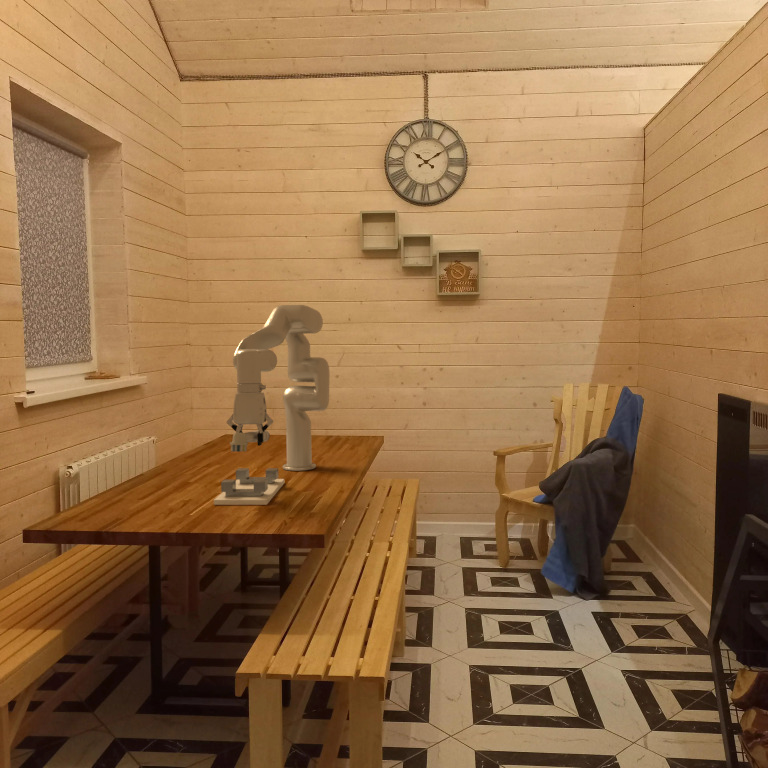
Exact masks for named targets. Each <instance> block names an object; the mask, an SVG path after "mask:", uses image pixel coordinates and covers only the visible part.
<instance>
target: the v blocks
mask: <svg viewBox="0 0 768 768" xmlns="http://www.w3.org/2000/svg"><path fill="white" fill-rule="evenodd" d="M276 479H279V467H278V468H277V467H276V468H271V467H268V468H267V469H265V476H250V468H247V467H246V468H245V467H243V468H242V467H241V468H240V467H239V468H238V469H236V470H235V479H224V480H222V481H221V482H220V487H221V493H222V492H225V493H226V497H261V496H262V495H263V494H264V492H265V491H266V490H267V489H268V484H273V483H274V482H275V480H276ZM236 480H240V484H254V489H236Z"/></svg>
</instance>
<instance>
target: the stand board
mask: <svg viewBox="0 0 768 768" xmlns="http://www.w3.org/2000/svg"><path fill="white" fill-rule="evenodd" d="M235 480H236V479H235ZM283 485H285V478H277V479H276V480H275V482H274V483H273V484H268V489H267V490H266V491H265V492H264V494H263V495H262V496H261V497H226V493H225V492H221V493H220V494H219V495H218V496H216V497H215V498H214V499H213V505H214V506H218V505H220V506H221V505H222V506H225V505H226V506H229V505H230V506H231V505H232V506H235V505H237V506H244V505H245V506H248V505H249V506H250V505H251V506H255V505H257V506H258V505H259V506H262V505H263V506H264V505H265V506H267V505H268V504H269V503H270V501H271V500H272V499H273V498H274V497H275V495H277V493H278V492H279V491H280V489H281V488H283ZM236 489H254V484H240V480H236Z"/></svg>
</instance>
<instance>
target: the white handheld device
mask: <svg viewBox="0 0 768 768" xmlns="http://www.w3.org/2000/svg"><path fill="white" fill-rule="evenodd" d="M258 431H259V430H258V429H257V430H254V431H247V432H243V433H236V432H233V435H232V442H231V441H230V442H229V445H230V452H247V451H248V450H247V449H248V446H249V443H258V439H257V434H258ZM270 438H271V437H270V432H269V431H268V430H265V431H264V432H263V443H264V442H268V440H269V439H270Z"/></svg>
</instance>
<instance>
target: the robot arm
mask: <svg viewBox="0 0 768 768" xmlns="http://www.w3.org/2000/svg"><path fill="white" fill-rule="evenodd" d="M323 322H324V321H323V317H322V314H321V313H320V312H319V311H318V310H317V309H315V308H313V307H310V306H308V305H304V304H282V305H278V306H276V307H274V308H273V310H272V311H271V313H270V314H269V316H268V318H267V320H266V322H265V323H264V325H263V326H262V328H260V329H258V330H256V331H254V332H252V333H251V334H249V335H247V336H246V337H244V338H242V340H241V341H240V342H239V344H238V346H237V347H236V348H235V351H234V353H233V356H232V364H233V367H234V369H235V370H236V381H237V383H236V384H237V385H236V387H237V388H236V389H237V392H235V395H234V400H233V413H232V415H231V416H230V417H229V418H228V419H227V420H226V424H227V425H228V426H229V427H231V428H232V429H233V431H235V433H244V432H243V428H244V425H256V427H257V430H259V431H258V434H257V439H258V442H257V446H258V447H259V446H260V447H261V446H262V444H263V443H264V442H263V432H264V431H267V429H268V428H269V427H270V426H271V425H272V424H274V420H273V419H272V418H271V416H270V415H269V414H268V413H267V404H266V403H267V401H266V395H265V393H264V392H262V391H263V390H267V387H266V386H267V385H266V384H262V373H268V372H271V371H274V370H275V368H276V367H277V364H278V357H277V354H276V353H275V351H273V350H271V349H272V348H275V347H278V346H280V345H282V344H283V343H284V341H285V342H286V345H287V376H288V377H287V378H288V379H289V380H290V381H291V382H294V383H314V385H291V386H288V387H286V389H285V390H284V391H283V395H282V400H283V407H284V412H285V431H286V432H285V433H286V437H285V438H286V441H285V442H286V445H285V446H286V463H284V464H283V465H282V469H283V470H285V471H290V472H291V471H292V472H293V471H294V472H296V471H297V472H301V471H310V470H313V469H315V468H316V467H317V465H316V463H315V462H313V461H312V460H313V459H312V456H313V455H312V421H311V419H310V417H309V415H308V414H307V412H324V411H326V410H327V409H328V407H329V403H330V365H329V362H328V361H327V360H326V359H325V358H323V357H317V356H316V357H315V356H313V357H311V344H310V342H309V339H308V338H307V336H306V335H305V334H318V333H319V332H320V331H322V328H323V325H324V323H323ZM265 422H266V423H265ZM264 423H265V424H264Z"/></svg>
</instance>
